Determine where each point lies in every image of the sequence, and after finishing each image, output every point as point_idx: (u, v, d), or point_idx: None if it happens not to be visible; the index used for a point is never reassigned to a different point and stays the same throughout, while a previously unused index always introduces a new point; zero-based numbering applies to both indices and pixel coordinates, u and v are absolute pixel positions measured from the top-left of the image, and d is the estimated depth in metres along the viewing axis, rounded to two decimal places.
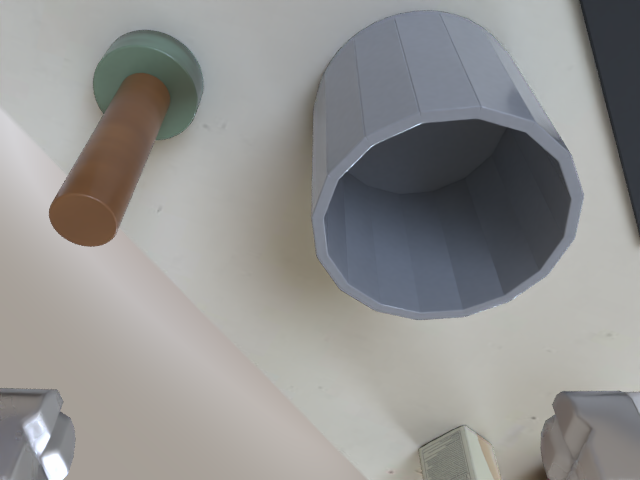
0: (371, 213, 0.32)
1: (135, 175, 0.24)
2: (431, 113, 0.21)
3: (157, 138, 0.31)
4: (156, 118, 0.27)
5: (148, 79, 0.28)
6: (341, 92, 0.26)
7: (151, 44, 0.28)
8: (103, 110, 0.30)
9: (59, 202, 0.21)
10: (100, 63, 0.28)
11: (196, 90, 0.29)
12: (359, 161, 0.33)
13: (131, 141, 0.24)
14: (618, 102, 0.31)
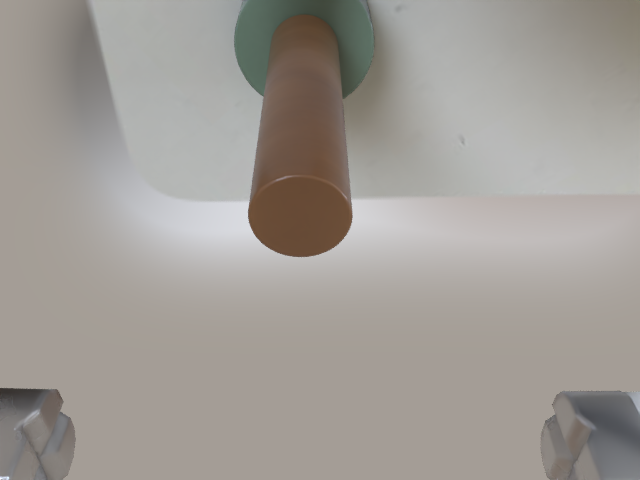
0: None
1: (321, 116, 0.15)
2: None
3: (363, 72, 0.22)
4: (313, 47, 0.19)
5: (282, 27, 0.21)
6: None
7: None
8: None
9: (255, 224, 0.14)
10: (241, 69, 0.22)
11: None
12: None
13: (290, 89, 0.16)
14: None
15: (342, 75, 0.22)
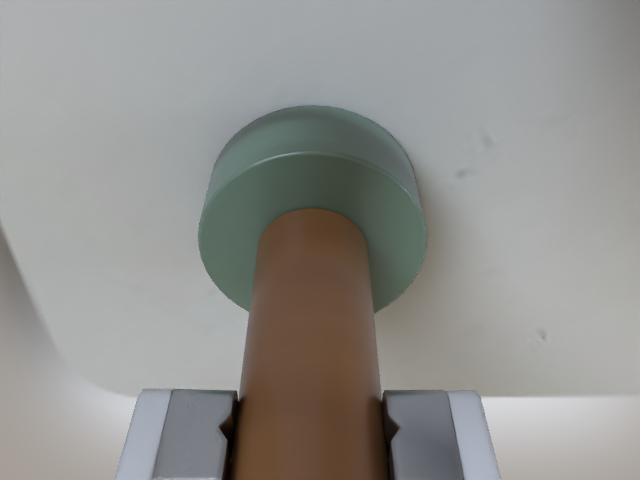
0: None
1: None
2: None
3: (406, 282, 0.14)
4: (329, 306, 0.10)
5: (275, 233, 0.12)
6: None
7: (224, 176, 0.12)
8: None
9: None
10: (212, 277, 0.14)
11: (362, 158, 0.12)
12: None
13: (286, 465, 0.08)
14: None
15: (373, 285, 0.14)
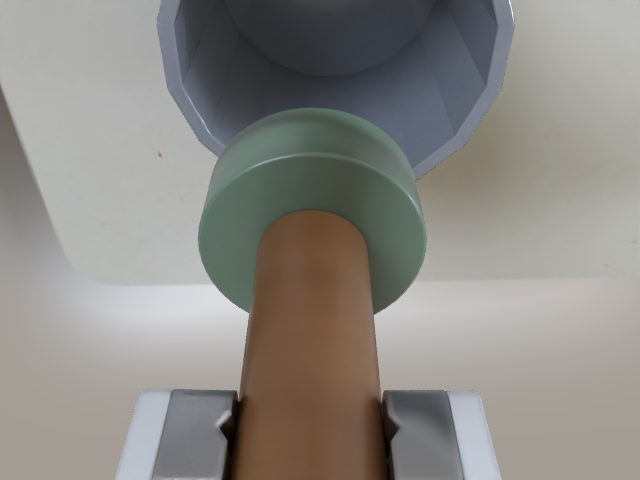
0: (392, 86, 0.26)
1: None
2: (163, 10, 0.18)
3: (406, 284, 0.14)
4: (329, 307, 0.10)
5: (275, 235, 0.12)
6: None
7: (224, 178, 0.12)
8: None
9: None
10: (211, 279, 0.14)
11: (362, 159, 0.12)
12: (351, 55, 0.28)
13: (286, 467, 0.08)
14: None
15: (372, 287, 0.14)
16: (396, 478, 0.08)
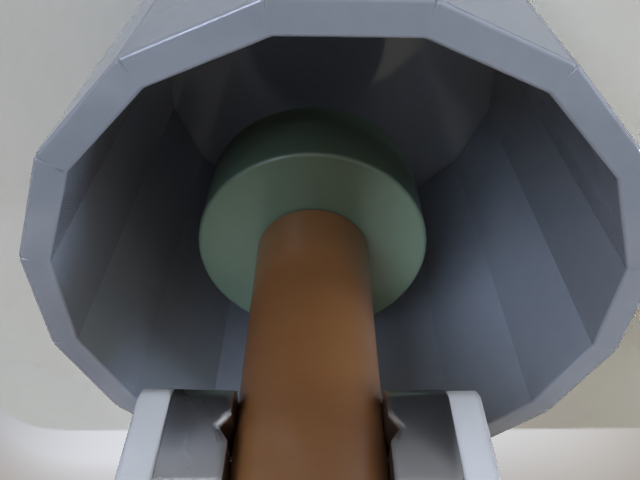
0: None
1: None
2: (29, 241, 0.10)
3: (406, 283, 0.14)
4: (329, 307, 0.10)
5: (275, 234, 0.12)
6: None
7: (224, 177, 0.12)
8: None
9: None
10: (212, 278, 0.14)
11: (362, 159, 0.12)
12: None
13: (286, 466, 0.08)
14: None
15: (373, 286, 0.14)
16: (396, 478, 0.08)
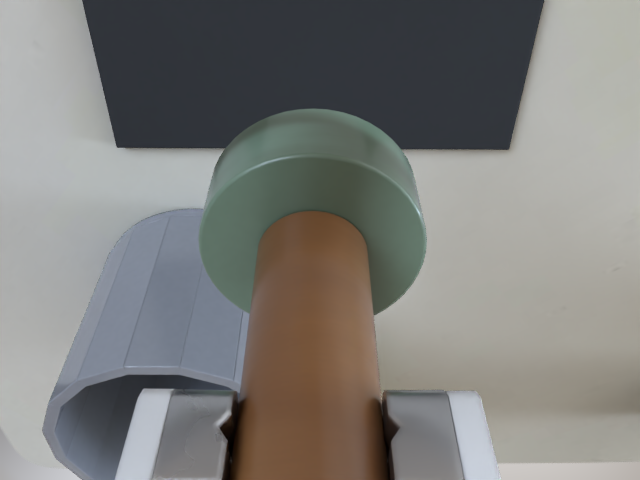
0: None
1: None
2: (46, 426, 0.25)
3: (406, 284, 0.14)
4: (329, 308, 0.10)
5: (275, 236, 0.12)
6: None
7: (223, 179, 0.12)
8: None
9: None
10: (212, 279, 0.14)
11: (362, 160, 0.12)
12: None
13: (286, 468, 0.08)
14: None
15: (372, 288, 0.14)
16: (396, 478, 0.08)
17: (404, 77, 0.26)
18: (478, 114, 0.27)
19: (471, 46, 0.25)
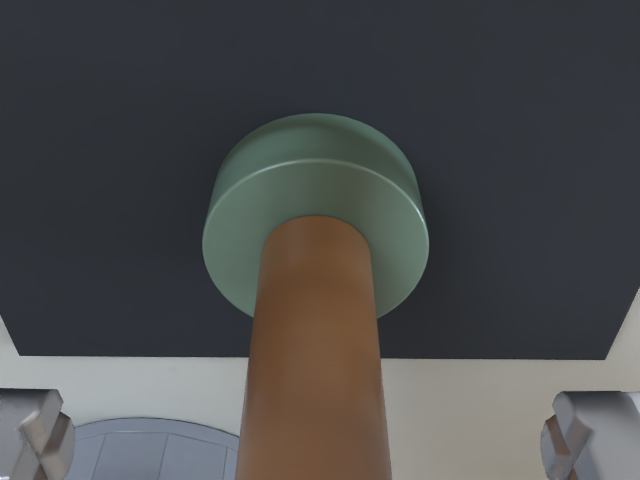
0: None
1: None
2: None
3: (409, 288, 0.14)
4: (333, 313, 0.10)
5: (279, 240, 0.12)
6: None
7: (228, 183, 0.12)
8: None
9: None
10: (215, 283, 0.14)
11: (366, 166, 0.12)
12: None
13: (291, 473, 0.08)
14: None
15: (375, 291, 0.14)
16: (603, 479, 0.08)
17: (455, 275, 0.16)
18: (564, 320, 0.18)
19: (565, 238, 0.16)
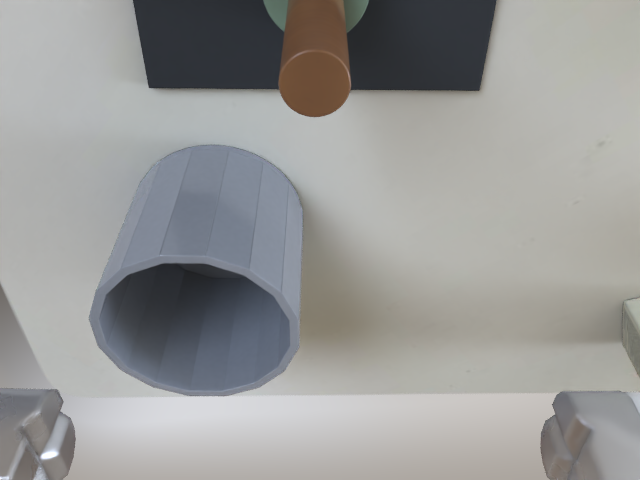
0: (262, 297, 0.39)
1: (329, 21, 0.22)
2: (92, 314, 0.30)
3: (362, 11, 0.28)
4: None
5: None
6: None
7: None
8: None
9: (283, 88, 0.20)
10: (266, 7, 0.28)
11: None
12: None
13: (307, 6, 0.23)
14: None
15: (345, 13, 0.28)
16: (602, 479, 0.08)
17: (390, 26, 0.31)
18: (452, 59, 0.32)
19: None
